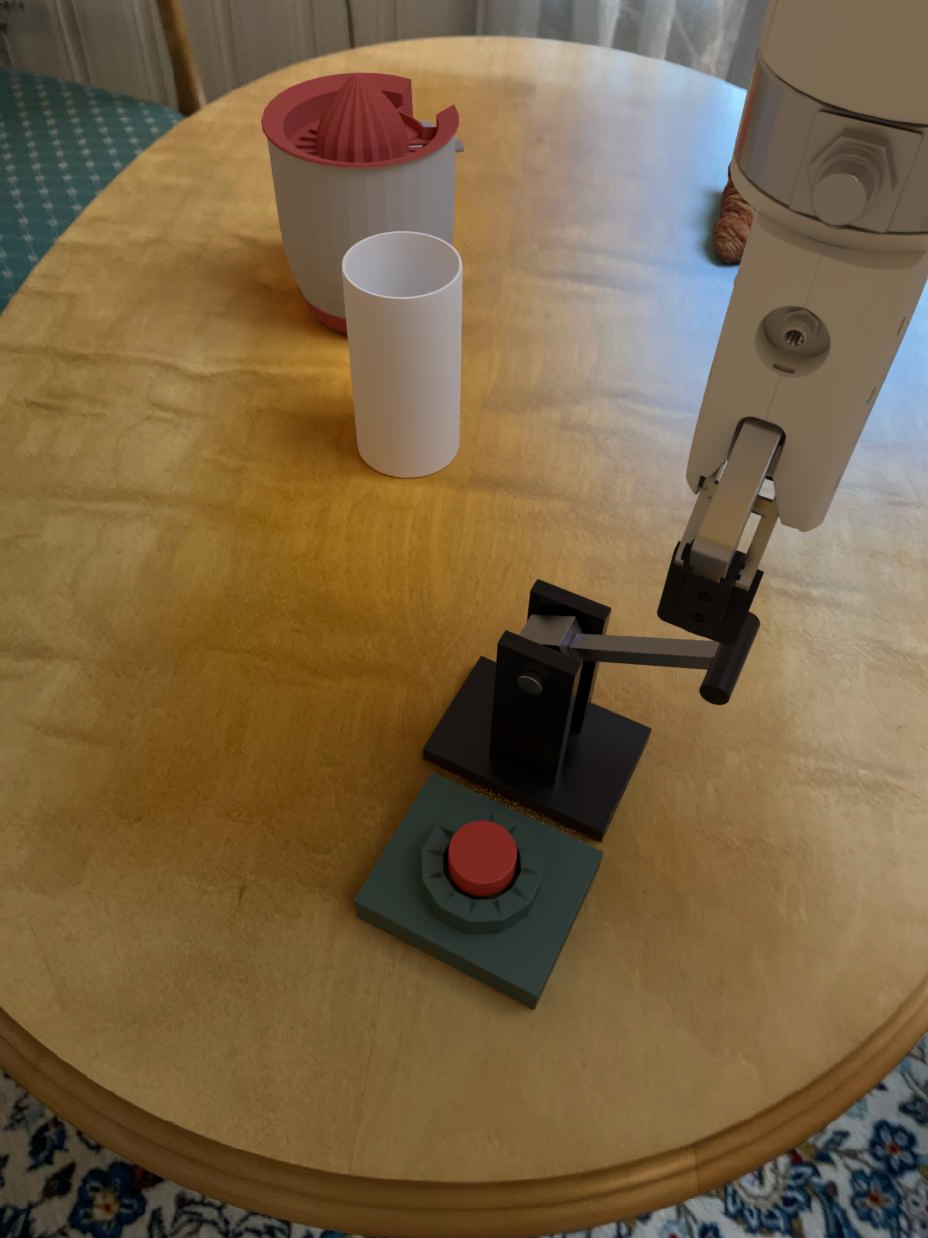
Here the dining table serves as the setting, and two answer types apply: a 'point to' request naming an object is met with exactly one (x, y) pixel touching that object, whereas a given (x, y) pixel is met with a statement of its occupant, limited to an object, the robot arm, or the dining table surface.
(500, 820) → the button box
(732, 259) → the pastry
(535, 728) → the bracket
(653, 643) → the lever
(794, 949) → the dining table surface
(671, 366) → the dining table surface
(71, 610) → the dining table surface
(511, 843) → the button
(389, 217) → the citrus juicer
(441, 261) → the cup
